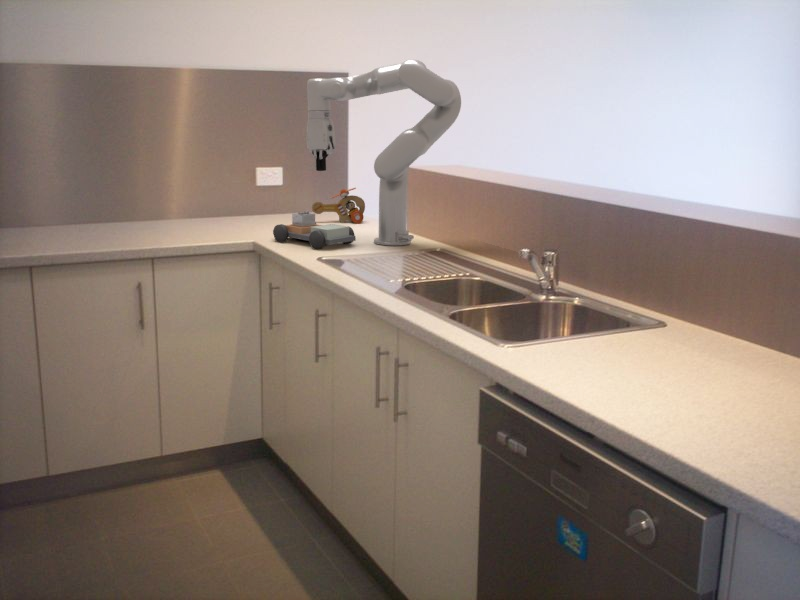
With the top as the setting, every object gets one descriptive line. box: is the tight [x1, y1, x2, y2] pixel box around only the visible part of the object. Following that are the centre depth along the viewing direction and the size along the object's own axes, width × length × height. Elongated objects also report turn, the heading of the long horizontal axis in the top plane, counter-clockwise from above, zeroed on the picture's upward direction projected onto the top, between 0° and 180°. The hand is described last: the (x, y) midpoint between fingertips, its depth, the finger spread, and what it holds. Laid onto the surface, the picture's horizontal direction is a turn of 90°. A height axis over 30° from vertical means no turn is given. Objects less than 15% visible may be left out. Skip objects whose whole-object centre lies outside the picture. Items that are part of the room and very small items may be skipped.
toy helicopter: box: [311, 187, 366, 224], centre depth 345 cm, size 8×21×14 cm, turn 101°
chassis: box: [272, 222, 356, 250], centre depth 299 cm, size 28×15×6 cm, turn 48°
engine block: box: [291, 211, 316, 228], centre depth 302 cm, size 5×6×6 cm
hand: (321, 170), depth 302 cm, fingers closed
